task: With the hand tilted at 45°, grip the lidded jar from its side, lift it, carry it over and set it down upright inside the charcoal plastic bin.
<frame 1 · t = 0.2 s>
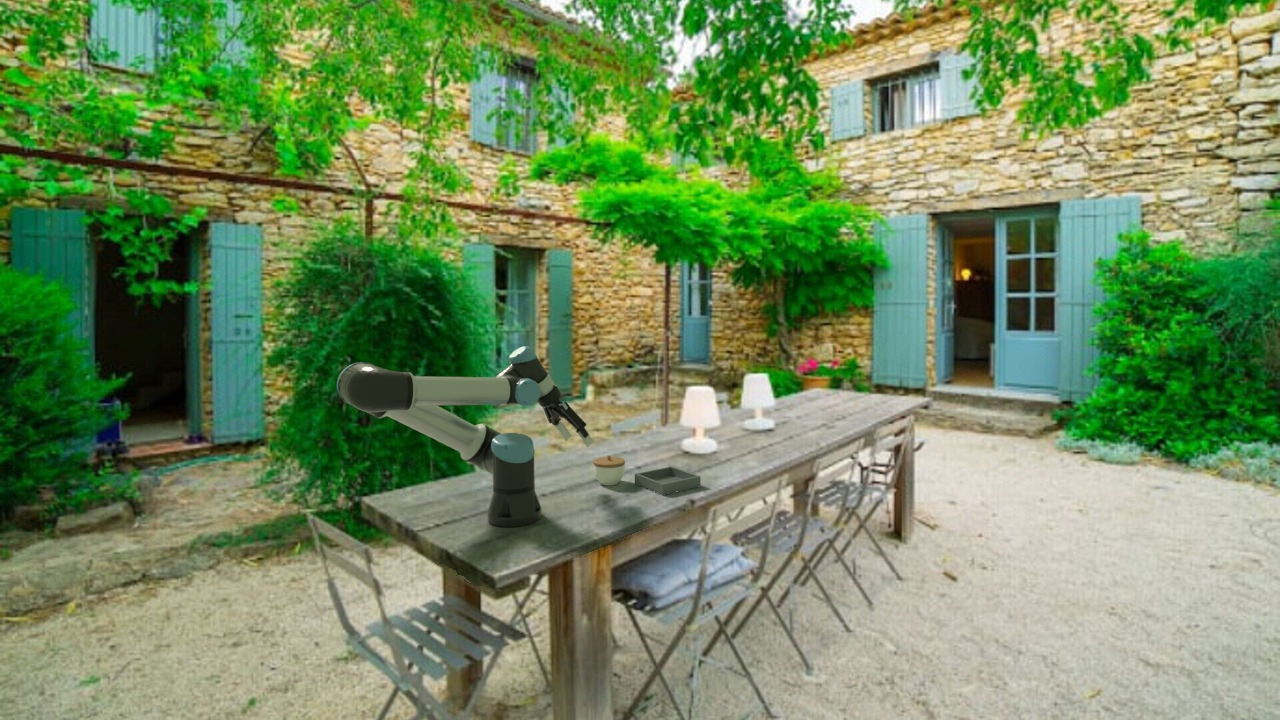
hand: (579, 441, 203), 16 cm above the table, tool tilted 35°, fingers open, 13 cm apart
bin: (667, 485, 208), on the table
lidded jar: (609, 483, 211), on the table
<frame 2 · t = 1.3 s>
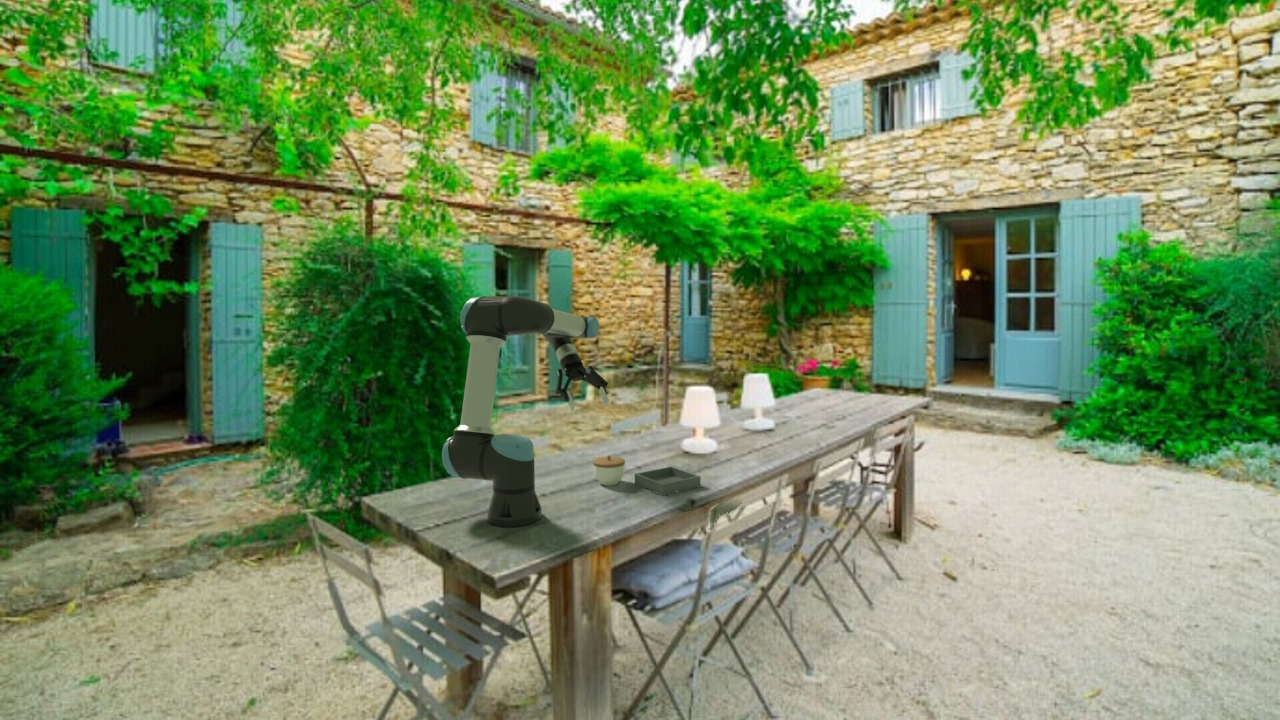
hand: (590, 405, 218), 25 cm above the table, tool tilted 45°, fingers open, 13 cm apart
nothing on the table moved.
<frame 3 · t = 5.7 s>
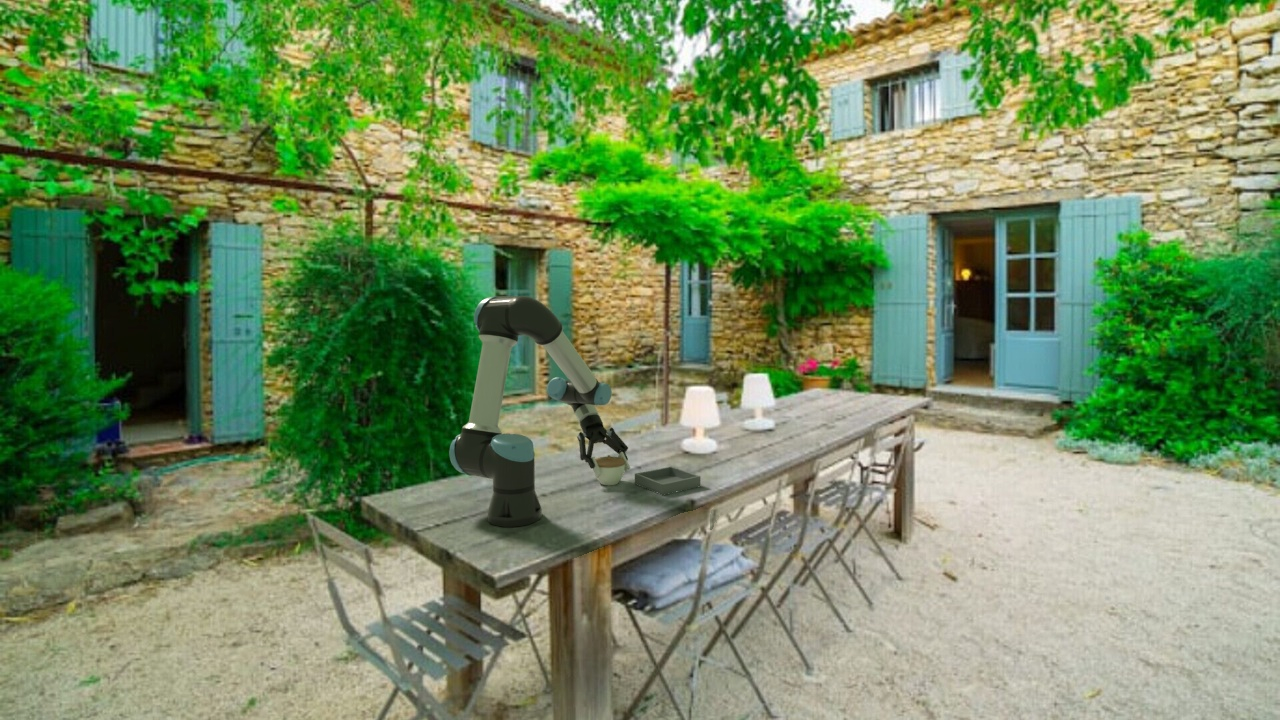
hand: (613, 472, 208), 4 cm above the table, tool tilted 45°, fingers closed on lidded jar, 11 cm apart
lidded jar: (609, 483, 211), on the table, touching gripper
when the fingers open (6 cm above the table, at t = 11.7 s): lidded jar drops 1 cm, resting on bin.
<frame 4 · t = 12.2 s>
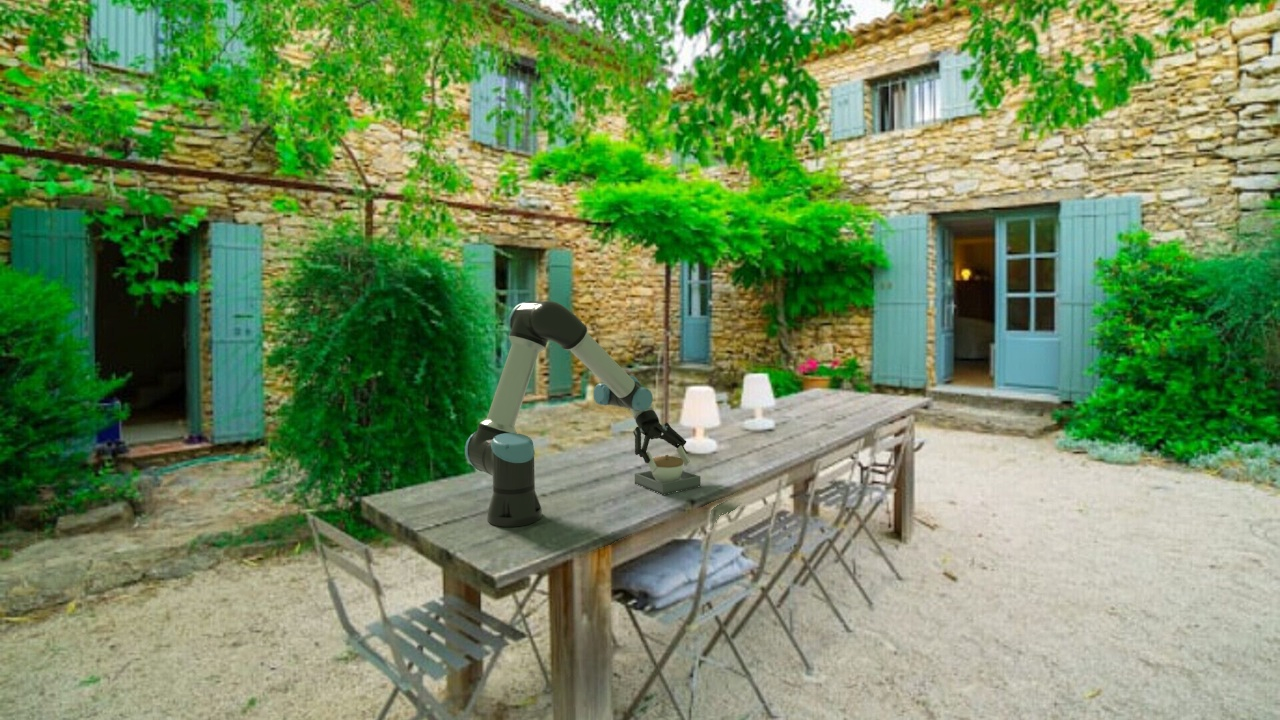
hand: (671, 467, 205), 7 cm above the table, tool tilted 45°, fingers open, 13 cm apart
lidded jar: (667, 483, 208), point 1 cm above the table, touching bin
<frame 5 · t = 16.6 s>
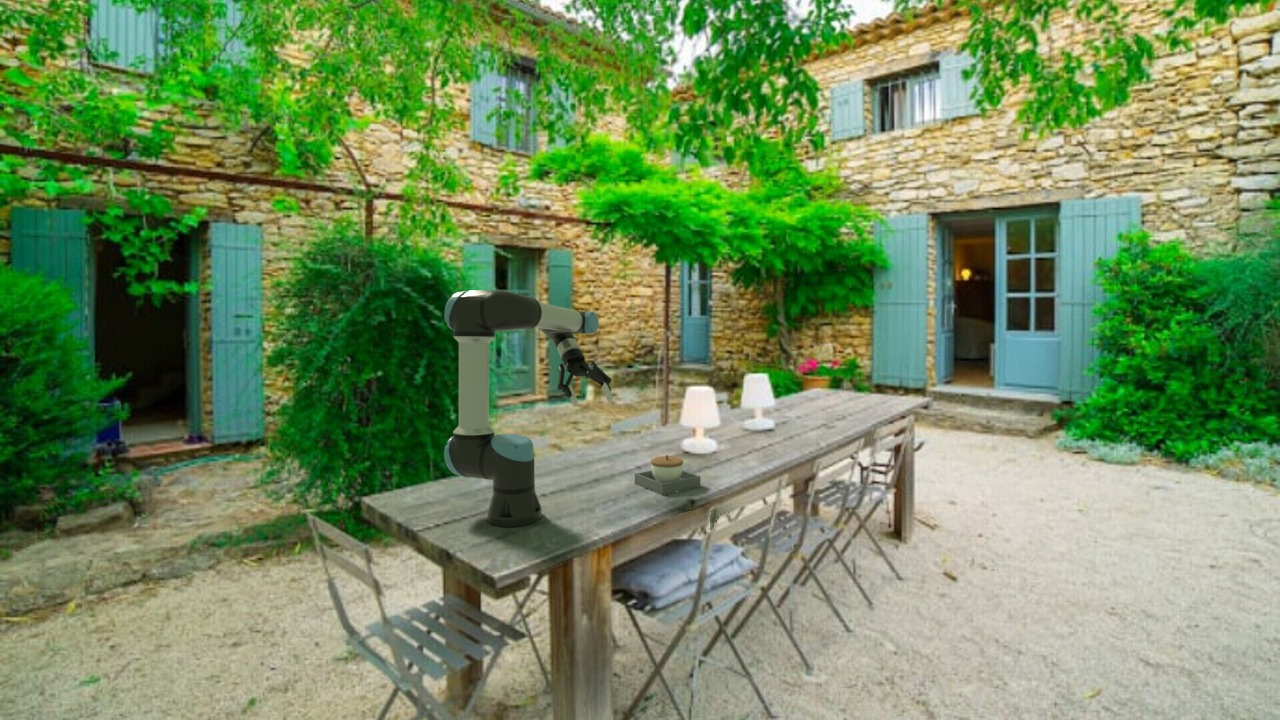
hand: (593, 402, 208), 28 cm above the table, tool tilted 45°, fingers open, 13 cm apart
nothing on the table moved.
at the end: lidded jar inside the target area on the bin (0.1 cm from its centre), point 0.6 cm above the bin's base; lidded jar tilted 0°; the gripper is holding nothing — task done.
